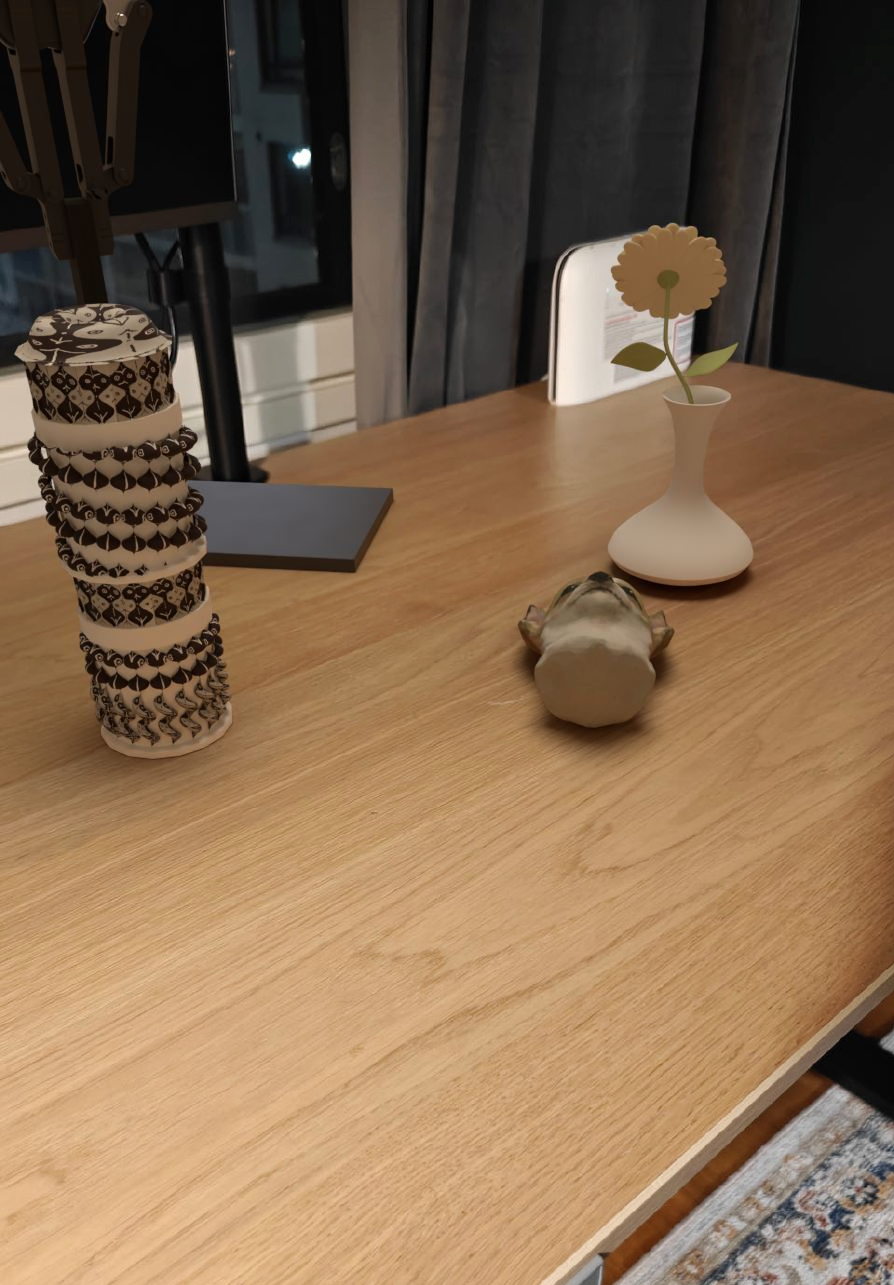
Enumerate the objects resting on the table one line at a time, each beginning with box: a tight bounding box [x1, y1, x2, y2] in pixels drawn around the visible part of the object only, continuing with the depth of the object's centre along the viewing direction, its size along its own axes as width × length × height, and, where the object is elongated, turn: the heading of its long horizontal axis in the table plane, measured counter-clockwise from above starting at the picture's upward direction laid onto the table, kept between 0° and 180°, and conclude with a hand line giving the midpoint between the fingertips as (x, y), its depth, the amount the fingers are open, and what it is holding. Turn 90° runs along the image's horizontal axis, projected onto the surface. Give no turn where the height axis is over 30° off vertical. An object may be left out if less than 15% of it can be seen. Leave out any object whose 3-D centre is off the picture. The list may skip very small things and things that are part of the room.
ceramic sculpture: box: [517, 570, 675, 729], centre depth 74 cm, size 11×9×15 cm
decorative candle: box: [14, 303, 234, 760], centre depth 66 cm, size 9×9×25 cm
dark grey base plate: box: [187, 479, 395, 574], centre depth 99 cm, size 23×16×3 cm
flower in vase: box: [607, 222, 754, 587], centre depth 84 cm, size 13×11×25 cm
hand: (94, 311), depth 74 cm, fingers closed
